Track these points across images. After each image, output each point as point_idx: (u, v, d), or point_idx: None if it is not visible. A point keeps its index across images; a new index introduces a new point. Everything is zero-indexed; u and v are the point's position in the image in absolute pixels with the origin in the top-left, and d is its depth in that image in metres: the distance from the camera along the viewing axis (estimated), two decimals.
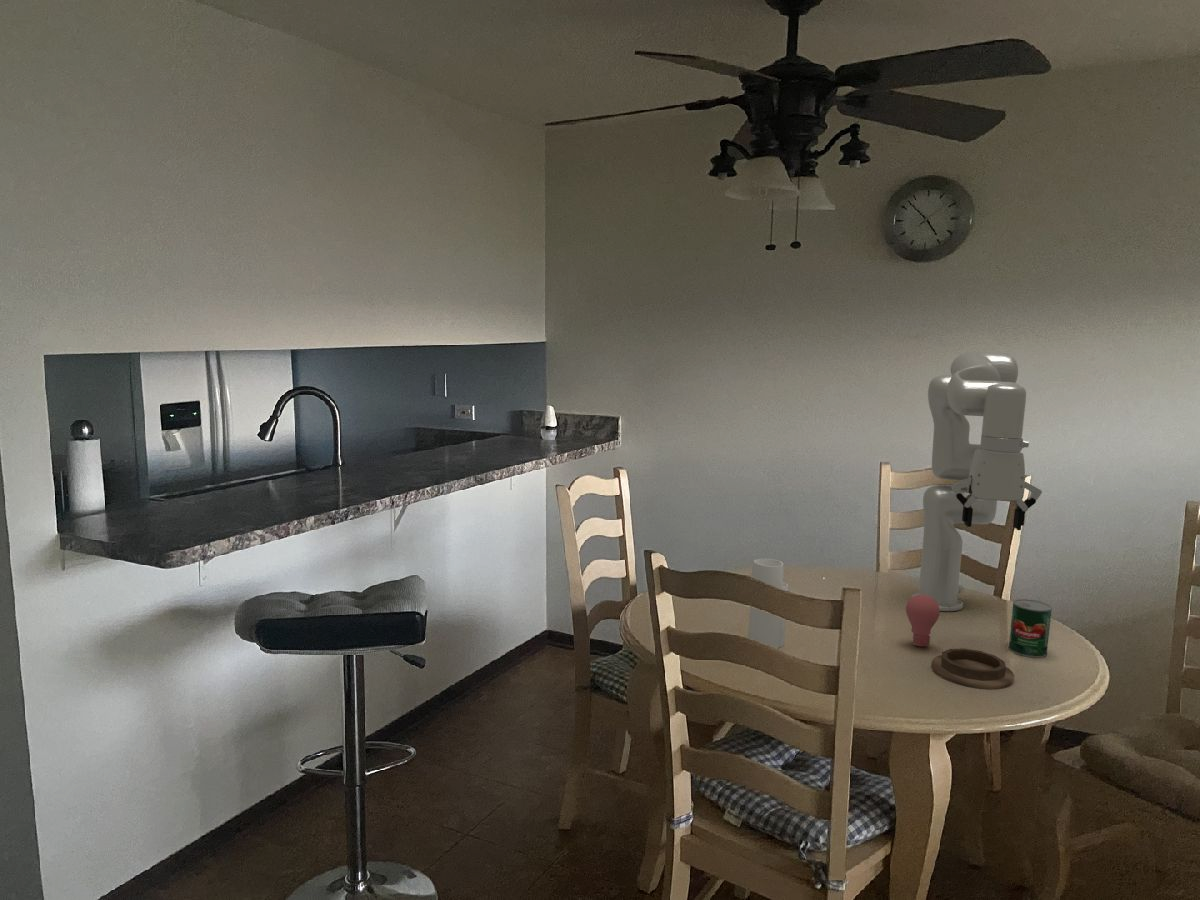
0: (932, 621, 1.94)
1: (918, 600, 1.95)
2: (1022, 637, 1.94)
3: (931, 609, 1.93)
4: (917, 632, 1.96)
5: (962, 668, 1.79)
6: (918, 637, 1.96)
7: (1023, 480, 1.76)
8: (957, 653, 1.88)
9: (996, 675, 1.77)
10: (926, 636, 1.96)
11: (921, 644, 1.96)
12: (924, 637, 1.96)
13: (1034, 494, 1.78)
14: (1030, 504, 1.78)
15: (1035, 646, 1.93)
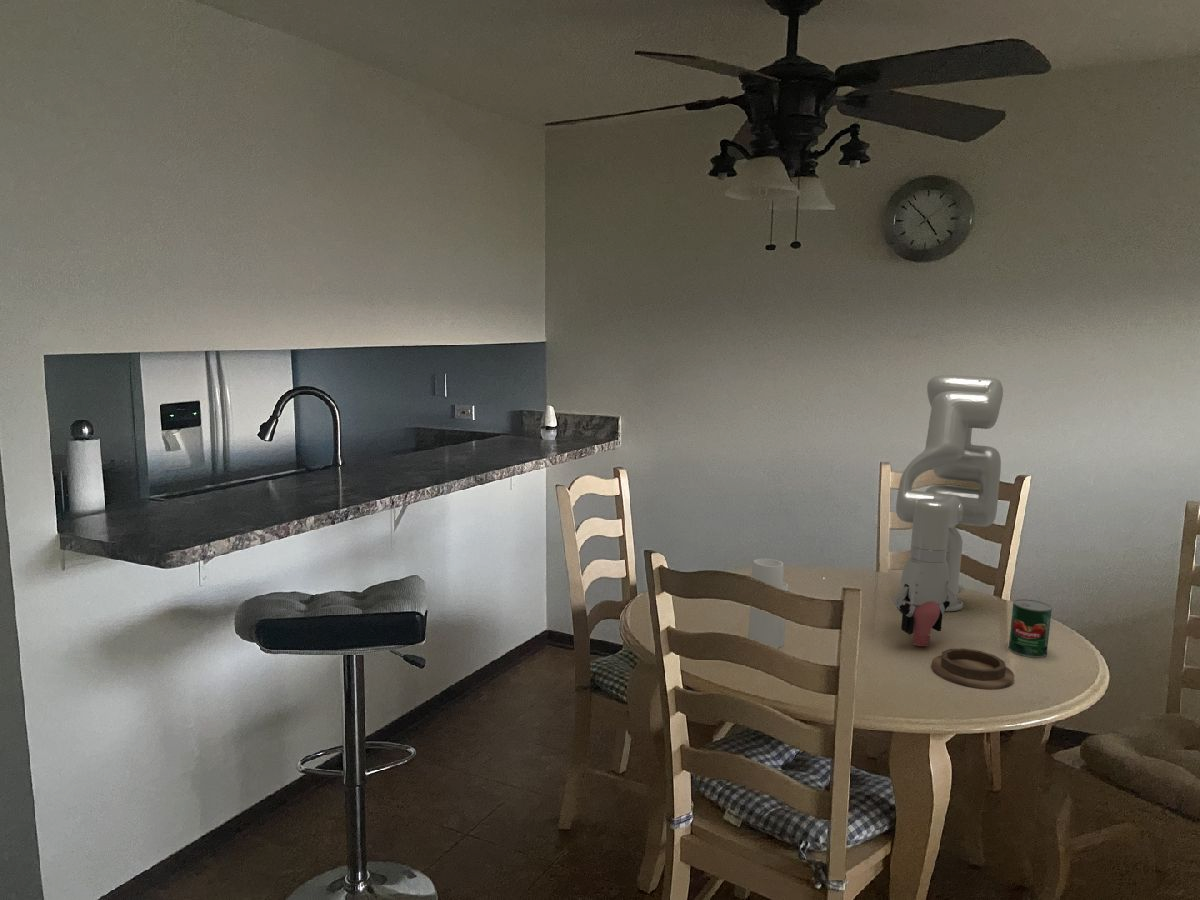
0: (932, 622, 1.94)
1: None
2: (1022, 637, 1.94)
3: (931, 609, 1.93)
4: (917, 632, 1.96)
5: (962, 668, 1.79)
6: (918, 637, 1.96)
7: (947, 584, 1.95)
8: (957, 653, 1.88)
9: (996, 675, 1.77)
10: (926, 636, 1.96)
11: (921, 644, 1.96)
12: (924, 637, 1.96)
13: (949, 597, 1.98)
14: (946, 606, 1.98)
15: (1035, 646, 1.93)
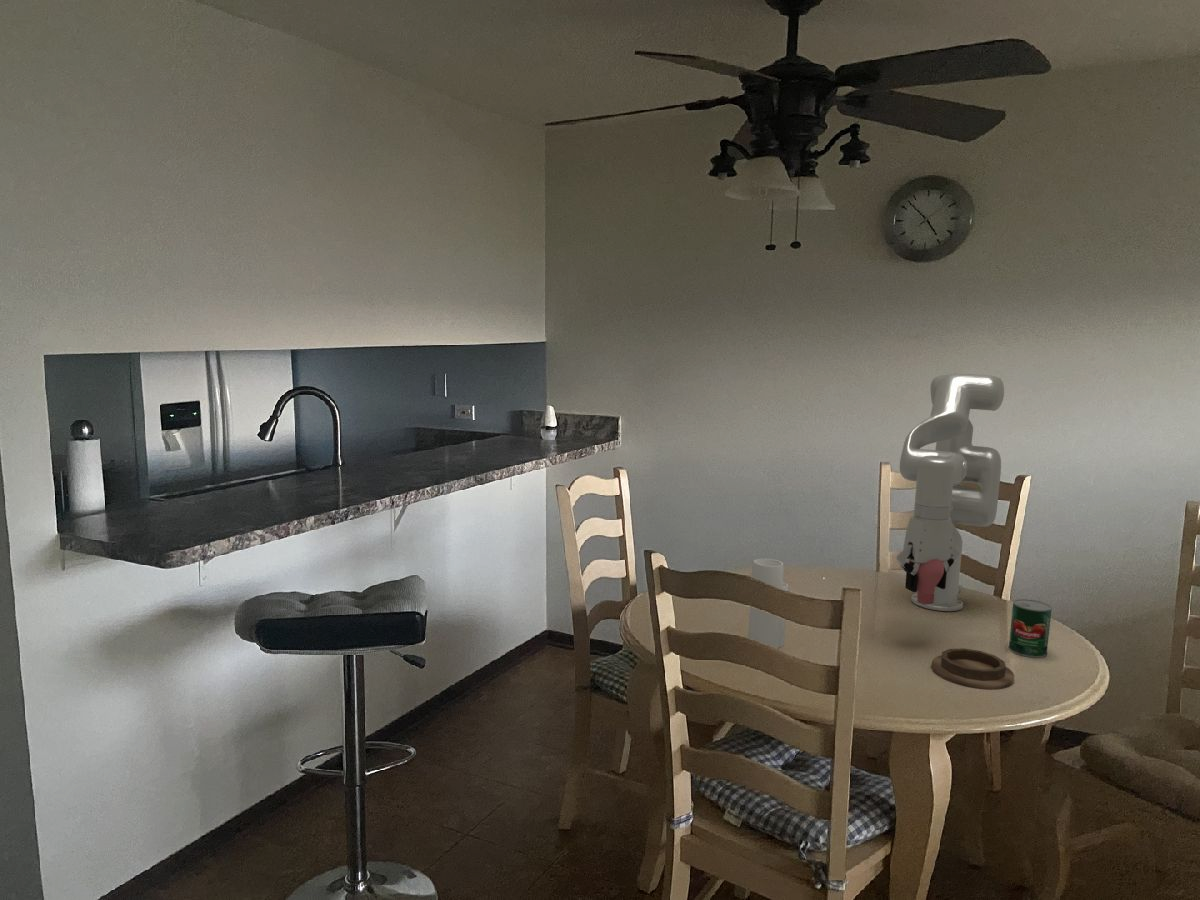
0: (936, 579, 1.93)
1: None
2: (1022, 637, 1.94)
3: (935, 567, 1.92)
4: (921, 590, 1.95)
5: (962, 668, 1.79)
6: (922, 595, 1.96)
7: (952, 542, 1.94)
8: (957, 653, 1.88)
9: (996, 675, 1.77)
10: (930, 594, 1.95)
11: (925, 602, 1.95)
12: (928, 595, 1.95)
13: (953, 555, 1.97)
14: (950, 564, 1.97)
15: (1035, 646, 1.93)
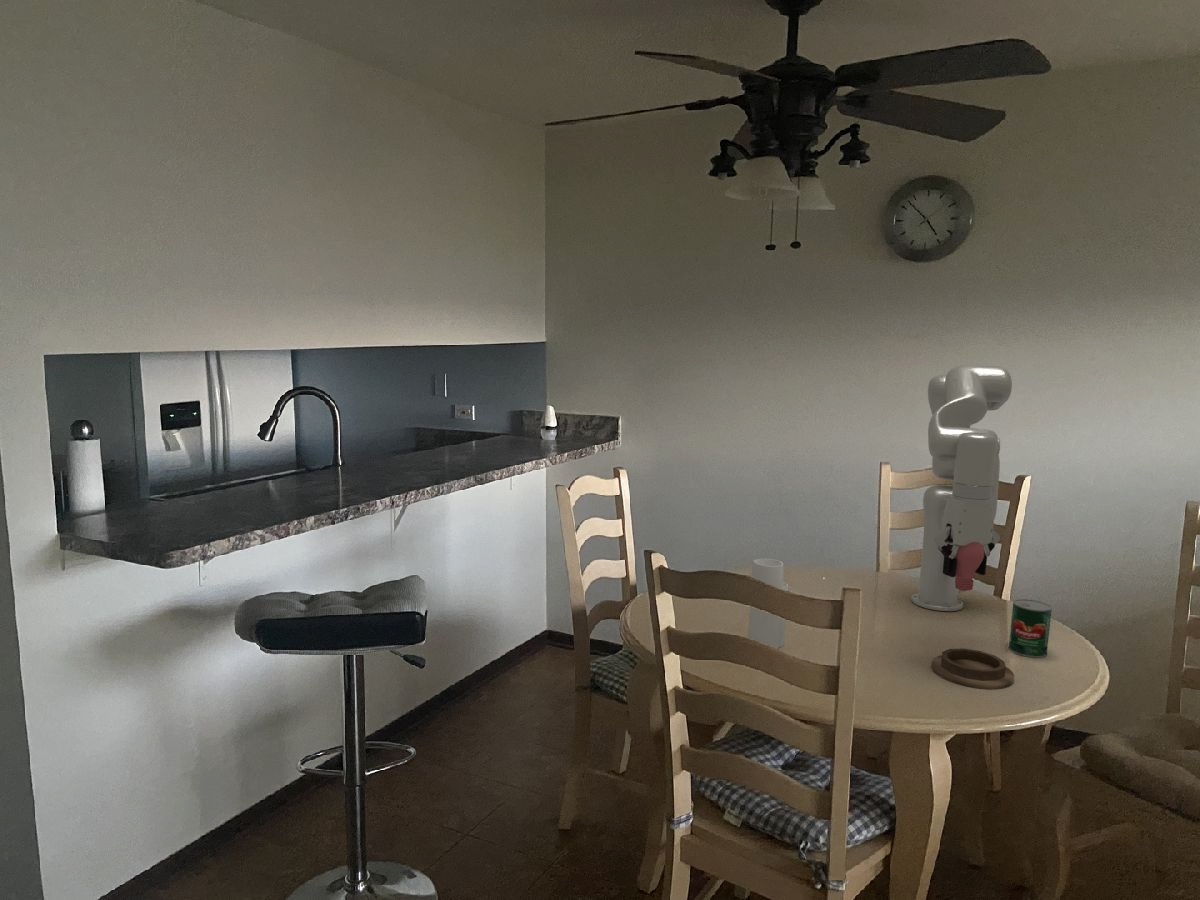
0: (976, 563, 1.81)
1: None
2: (1022, 637, 1.94)
3: (975, 550, 1.81)
4: (960, 575, 1.83)
5: (962, 668, 1.79)
6: (961, 581, 1.84)
7: (993, 524, 1.83)
8: (957, 653, 1.88)
9: (996, 675, 1.77)
10: (969, 580, 1.83)
11: (964, 588, 1.84)
12: (967, 581, 1.83)
13: (994, 539, 1.85)
14: (990, 549, 1.85)
15: (1035, 646, 1.93)
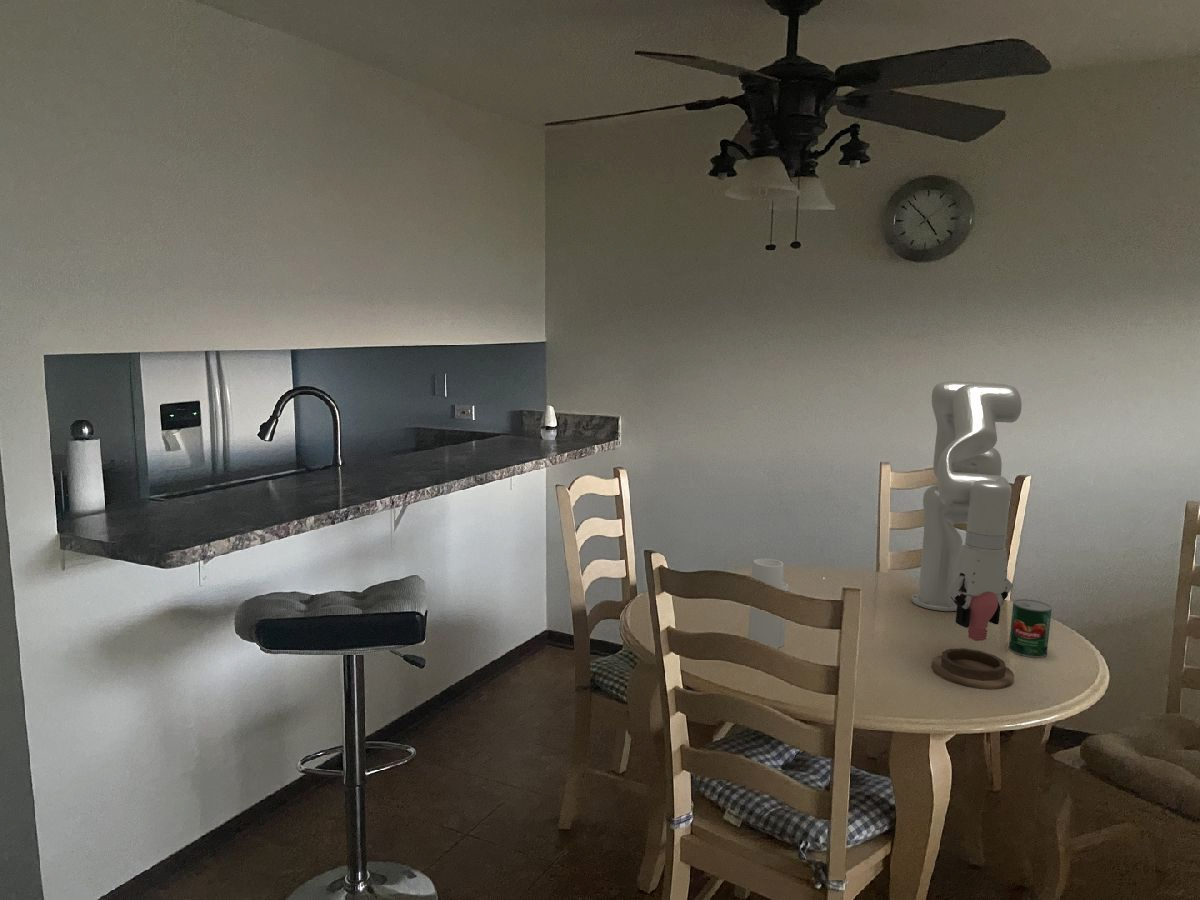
0: (990, 614, 1.78)
1: None
2: (1022, 637, 1.94)
3: (989, 600, 1.78)
4: (973, 625, 1.80)
5: (962, 668, 1.79)
6: (974, 631, 1.81)
7: (1006, 573, 1.80)
8: (957, 653, 1.88)
9: (996, 675, 1.77)
10: (983, 630, 1.80)
11: (978, 638, 1.81)
12: (981, 631, 1.80)
13: (1007, 588, 1.82)
14: (1004, 598, 1.82)
15: (1035, 646, 1.93)
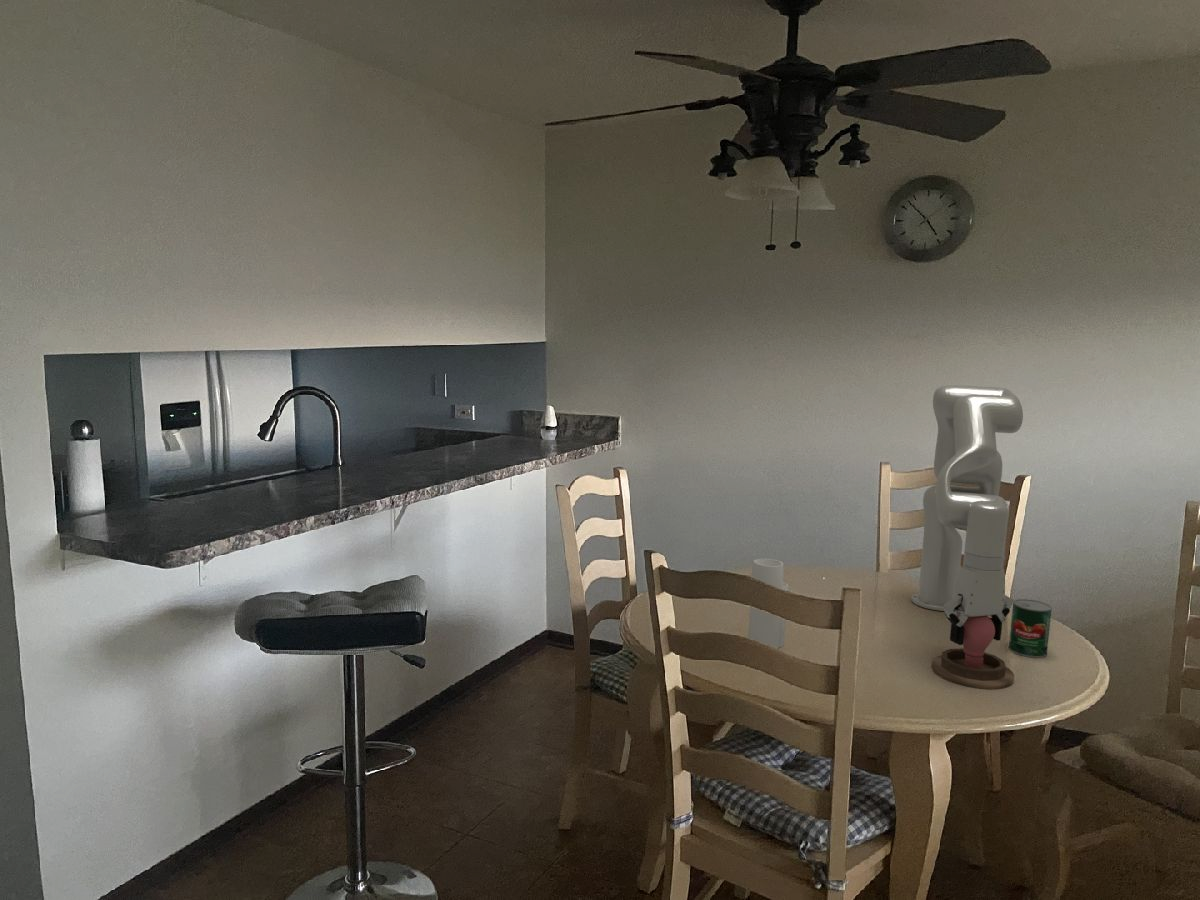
0: (987, 642, 1.80)
1: (972, 618, 1.80)
2: (1022, 637, 1.94)
3: (986, 628, 1.79)
4: (970, 653, 1.81)
5: (962, 668, 1.79)
6: (971, 658, 1.82)
7: (1004, 593, 1.81)
8: (957, 653, 1.88)
9: (996, 675, 1.77)
10: (980, 657, 1.82)
11: (974, 666, 1.82)
12: (977, 658, 1.82)
13: (1008, 604, 1.83)
14: (1005, 614, 1.83)
15: (1035, 646, 1.93)
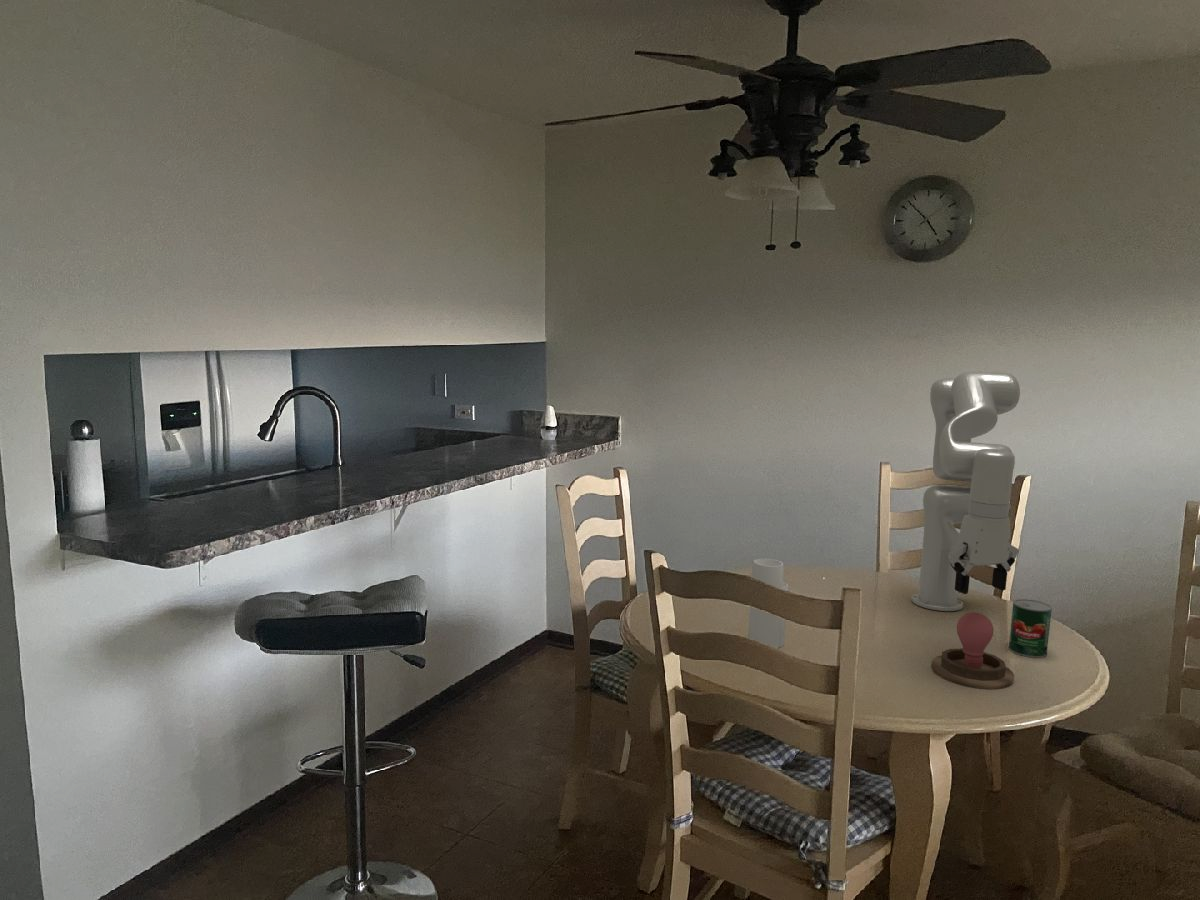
0: (986, 642, 1.80)
1: (970, 618, 1.81)
2: (1022, 637, 1.94)
3: (984, 628, 1.79)
4: (969, 653, 1.82)
5: (962, 668, 1.79)
6: (970, 658, 1.82)
7: (1009, 542, 1.79)
8: (957, 653, 1.88)
9: (996, 675, 1.77)
10: (979, 657, 1.82)
11: (974, 666, 1.82)
12: (977, 658, 1.82)
13: (1013, 553, 1.82)
14: (1011, 564, 1.82)
15: (1035, 646, 1.93)
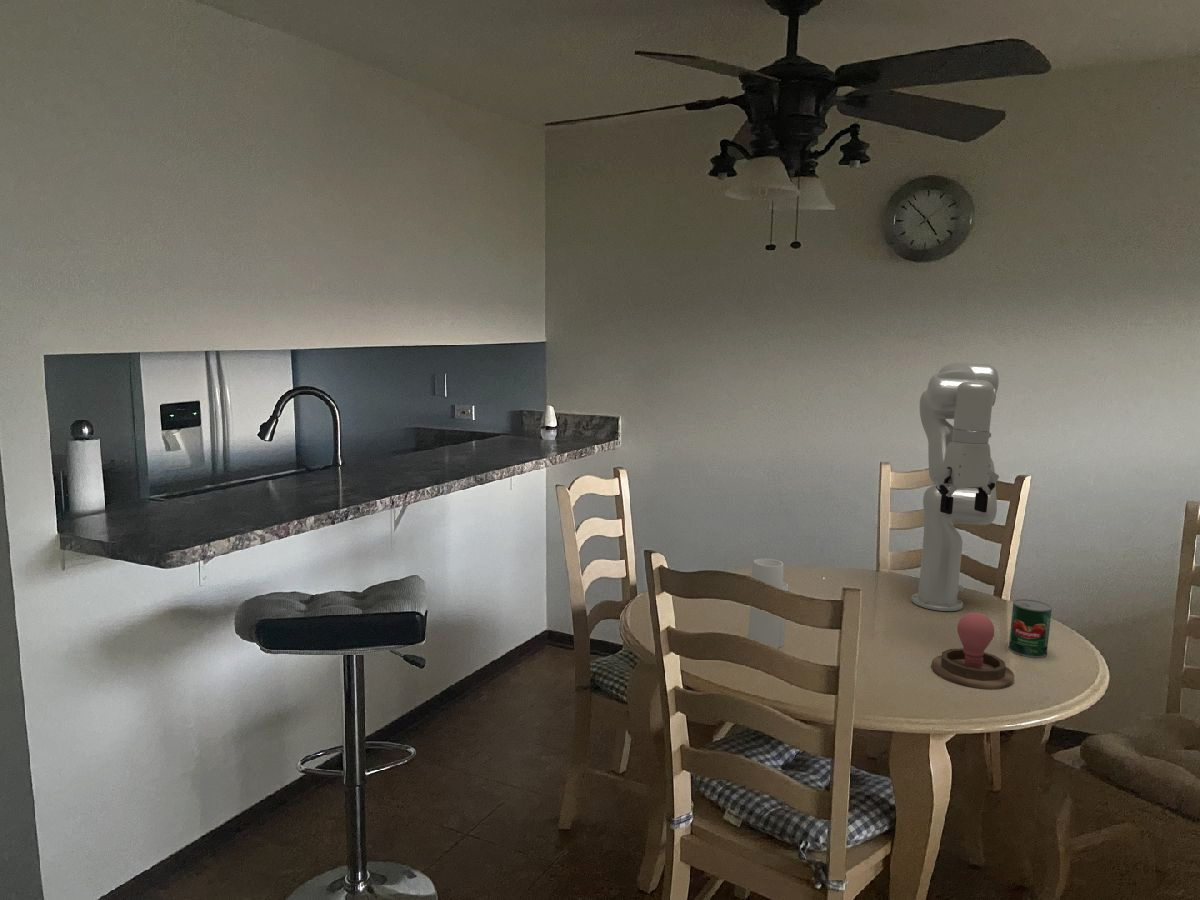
0: (987, 642, 1.80)
1: (971, 619, 1.81)
2: (1022, 637, 1.94)
3: (985, 628, 1.79)
4: (970, 653, 1.82)
5: (962, 668, 1.79)
6: (971, 658, 1.82)
7: (990, 467, 1.96)
8: (957, 653, 1.88)
9: (996, 675, 1.77)
10: (979, 657, 1.82)
11: (974, 666, 1.82)
12: (977, 658, 1.82)
13: (993, 479, 1.99)
14: (991, 488, 1.99)
15: (1035, 646, 1.93)
